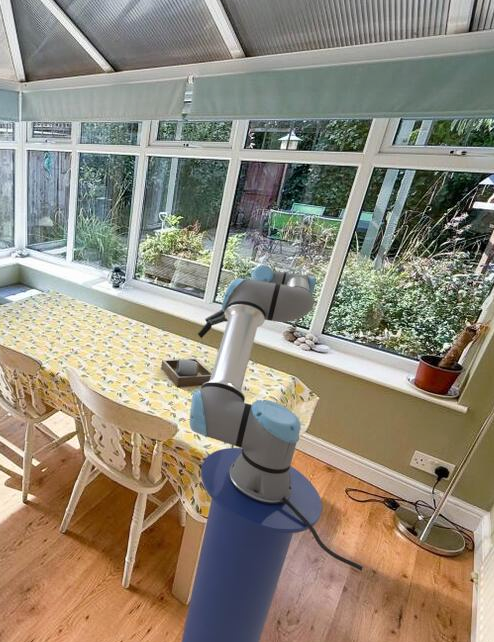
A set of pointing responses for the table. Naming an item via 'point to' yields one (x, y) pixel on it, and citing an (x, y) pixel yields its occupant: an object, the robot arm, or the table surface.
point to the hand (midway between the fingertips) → (209, 342)
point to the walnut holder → (186, 380)
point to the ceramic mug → (186, 368)
